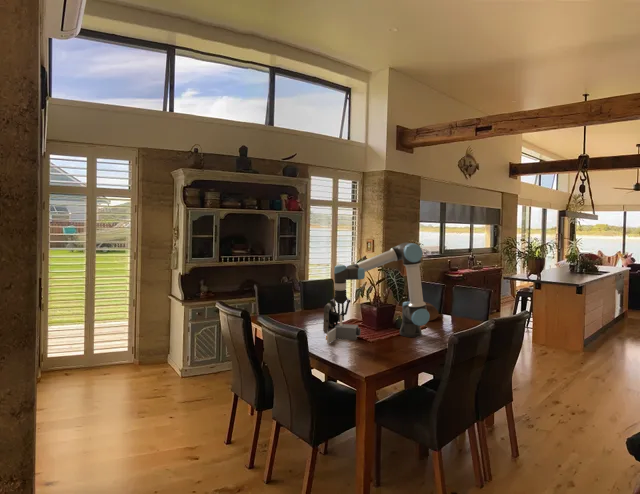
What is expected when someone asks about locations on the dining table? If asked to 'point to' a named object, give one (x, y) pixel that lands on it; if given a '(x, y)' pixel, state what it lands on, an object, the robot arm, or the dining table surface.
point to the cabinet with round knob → (347, 332)
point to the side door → (331, 335)
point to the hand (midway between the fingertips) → (341, 325)
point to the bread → (431, 311)
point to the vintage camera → (329, 318)
